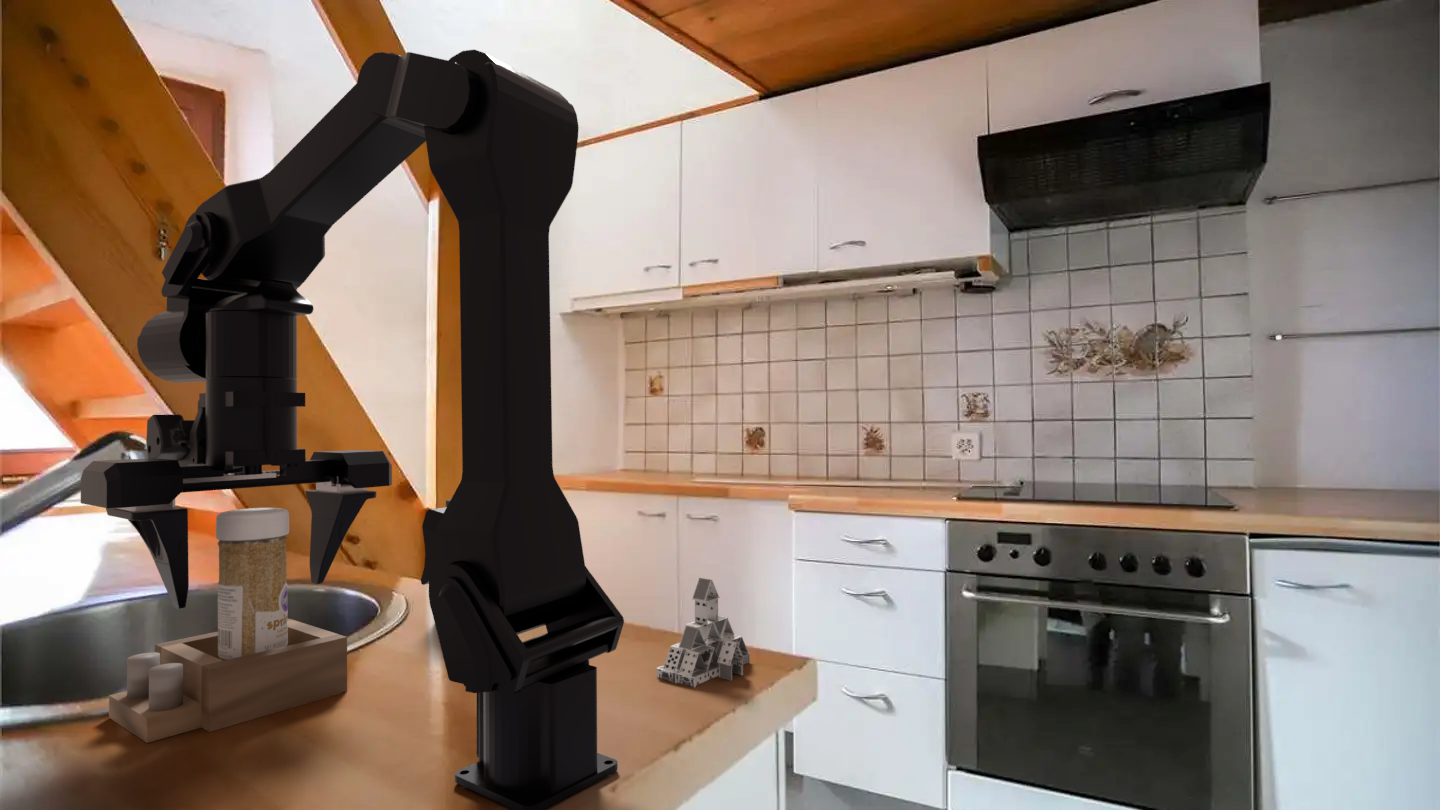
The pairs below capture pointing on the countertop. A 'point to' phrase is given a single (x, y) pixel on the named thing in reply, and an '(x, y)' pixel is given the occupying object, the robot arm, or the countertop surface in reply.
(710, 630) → the house of cards
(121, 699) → the slot block
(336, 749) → the countertop surface
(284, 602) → the sprinkles bottle
